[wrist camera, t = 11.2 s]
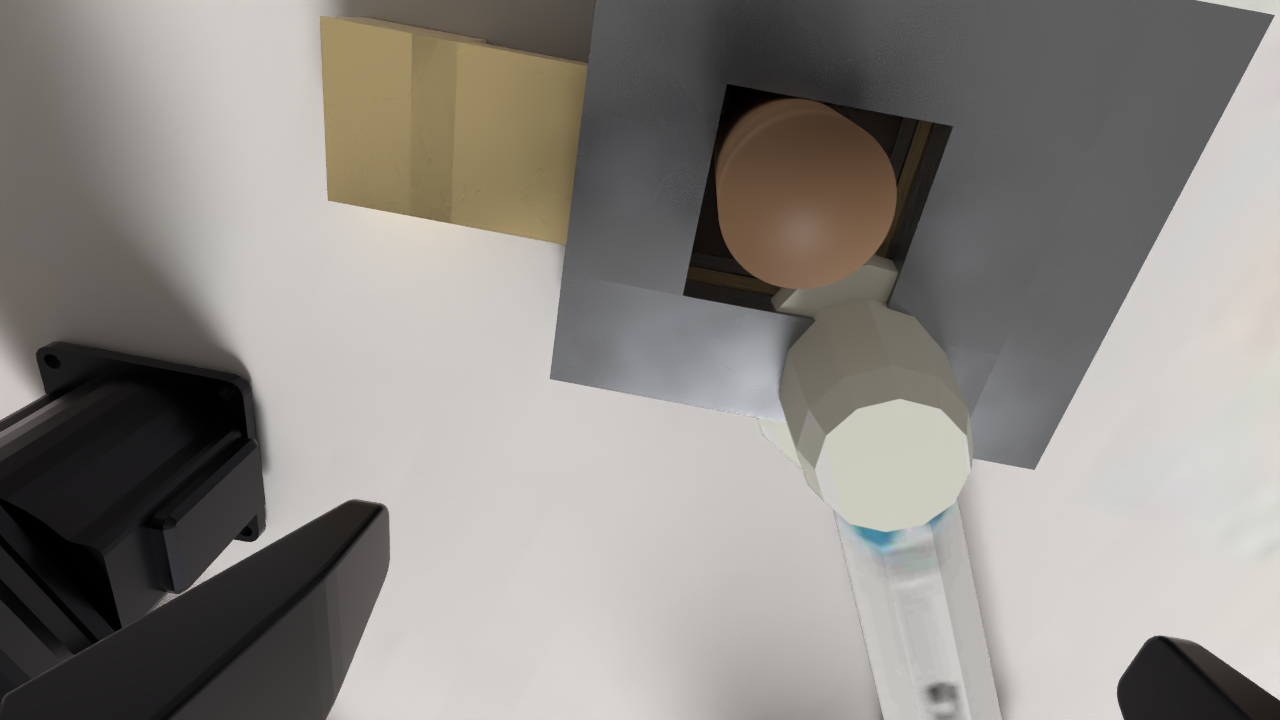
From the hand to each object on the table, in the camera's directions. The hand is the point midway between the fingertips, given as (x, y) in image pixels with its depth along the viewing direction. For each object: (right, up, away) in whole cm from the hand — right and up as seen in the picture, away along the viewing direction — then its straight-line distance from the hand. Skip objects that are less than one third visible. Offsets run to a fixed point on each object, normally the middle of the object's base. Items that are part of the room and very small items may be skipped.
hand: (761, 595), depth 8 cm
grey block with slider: (0, +8, +9) cm, 12 cm away
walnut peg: (+2, +8, +9) cm, 12 cm away
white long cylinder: (+7, -5, +15) cm, 17 cm away
